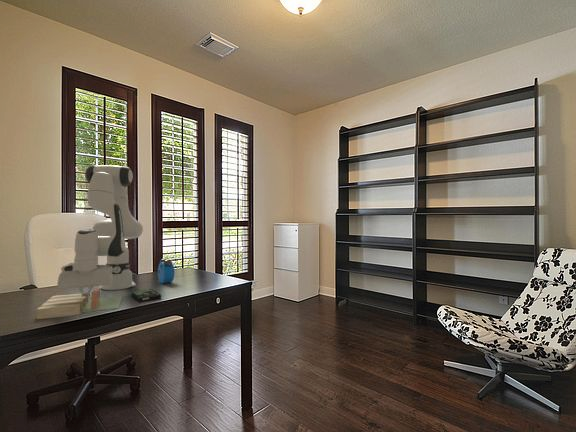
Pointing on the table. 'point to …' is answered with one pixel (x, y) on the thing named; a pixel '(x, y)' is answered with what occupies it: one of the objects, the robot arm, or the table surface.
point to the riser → (62, 306)
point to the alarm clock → (165, 271)
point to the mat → (104, 304)
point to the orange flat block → (95, 298)
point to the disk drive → (146, 295)
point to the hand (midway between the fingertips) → (85, 296)
